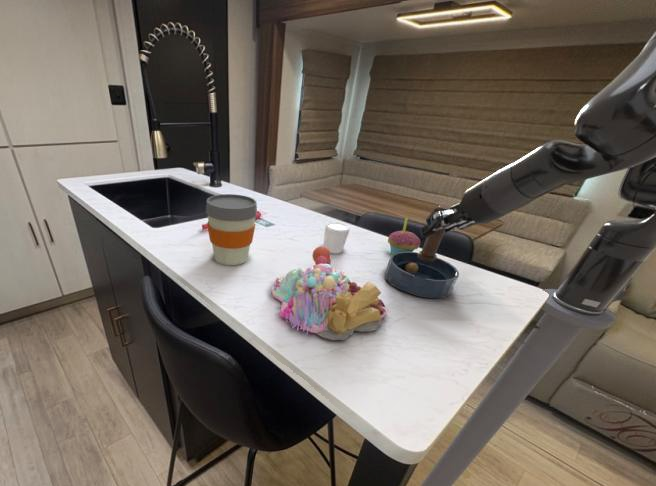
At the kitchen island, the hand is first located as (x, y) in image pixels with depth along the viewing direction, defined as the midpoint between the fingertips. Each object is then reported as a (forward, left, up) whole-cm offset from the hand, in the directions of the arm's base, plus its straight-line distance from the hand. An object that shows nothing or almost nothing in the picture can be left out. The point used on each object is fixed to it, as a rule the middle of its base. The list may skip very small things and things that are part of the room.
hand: (428, 233), depth 71 cm
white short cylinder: (+16, -17, -12) cm, 26 cm away
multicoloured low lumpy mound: (+26, +12, -12) cm, 31 cm away
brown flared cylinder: (0, +2, -5) cm, 6 cm away
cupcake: (-3, -14, -12) cm, 19 cm away
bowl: (0, +2, -12) cm, 12 cm away
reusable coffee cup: (+46, -10, -12) cm, 48 cm away
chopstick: (+44, -34, -8) cm, 56 cm away
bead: (0, -2, -10) cm, 10 cm away
